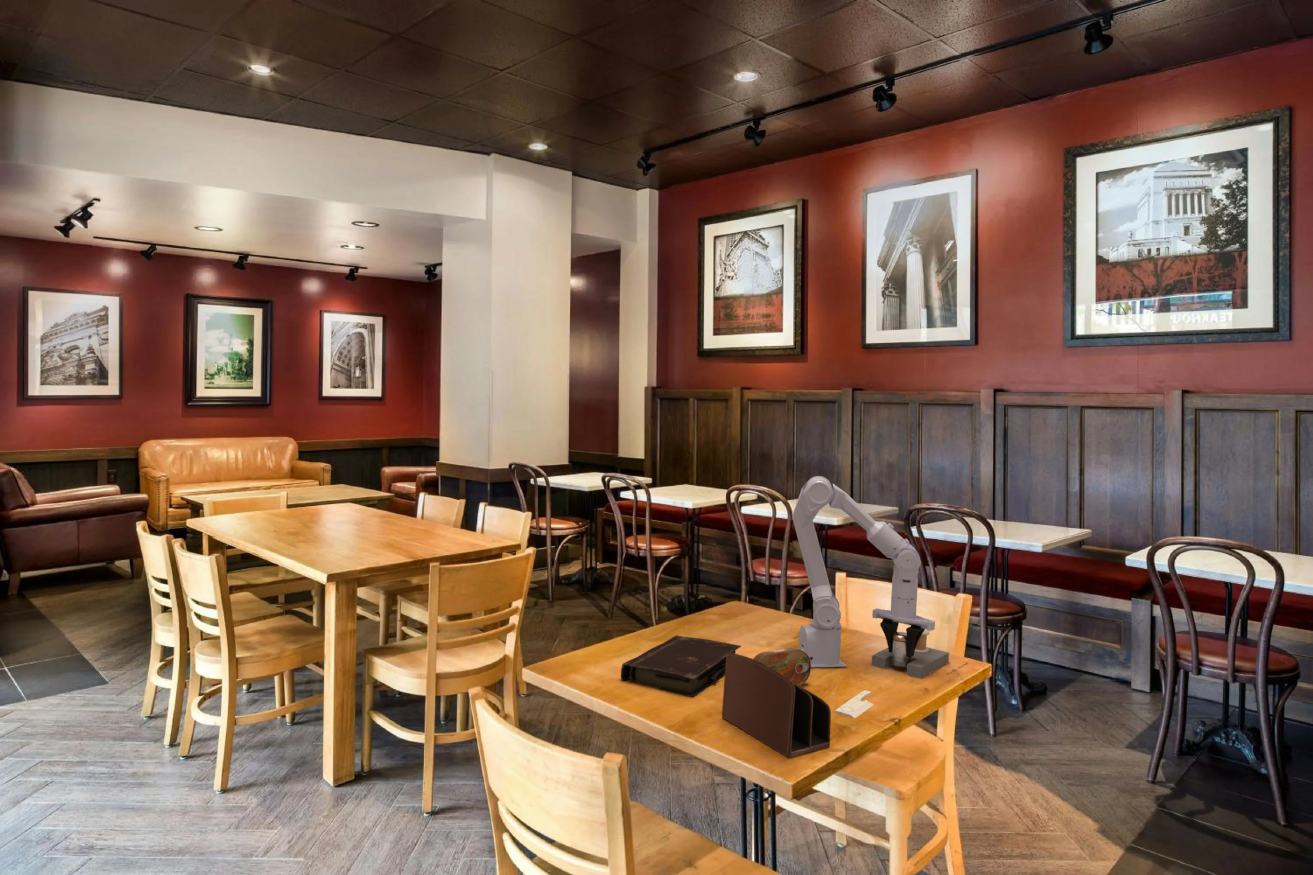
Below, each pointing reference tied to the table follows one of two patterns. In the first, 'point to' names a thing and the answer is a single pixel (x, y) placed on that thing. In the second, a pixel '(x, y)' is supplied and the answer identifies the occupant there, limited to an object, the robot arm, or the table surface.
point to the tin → (788, 663)
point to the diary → (680, 665)
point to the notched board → (915, 658)
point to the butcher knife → (855, 705)
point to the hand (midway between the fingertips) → (901, 653)
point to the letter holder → (774, 708)
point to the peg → (899, 649)
